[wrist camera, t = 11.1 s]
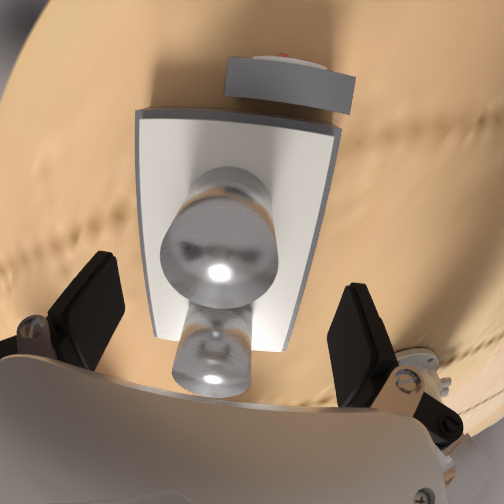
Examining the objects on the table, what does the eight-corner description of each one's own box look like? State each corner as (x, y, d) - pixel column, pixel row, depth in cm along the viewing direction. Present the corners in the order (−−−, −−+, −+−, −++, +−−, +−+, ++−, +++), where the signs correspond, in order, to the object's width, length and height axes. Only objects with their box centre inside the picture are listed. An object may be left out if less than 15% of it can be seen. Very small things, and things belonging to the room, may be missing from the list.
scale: (339, 74, 15) (366, 70, 11) (284, 331, 27) (287, 373, 23) (153, 58, 14) (120, 51, 10) (160, 317, 26) (147, 357, 22)
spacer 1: (276, 171, 16) (287, 215, 11) (265, 246, 18) (269, 312, 13) (188, 163, 16) (156, 204, 10) (187, 239, 18) (164, 302, 13)
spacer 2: (256, 293, 21) (254, 361, 15) (249, 338, 23) (246, 400, 18) (187, 286, 20) (167, 350, 15) (189, 331, 23) (175, 392, 18)
